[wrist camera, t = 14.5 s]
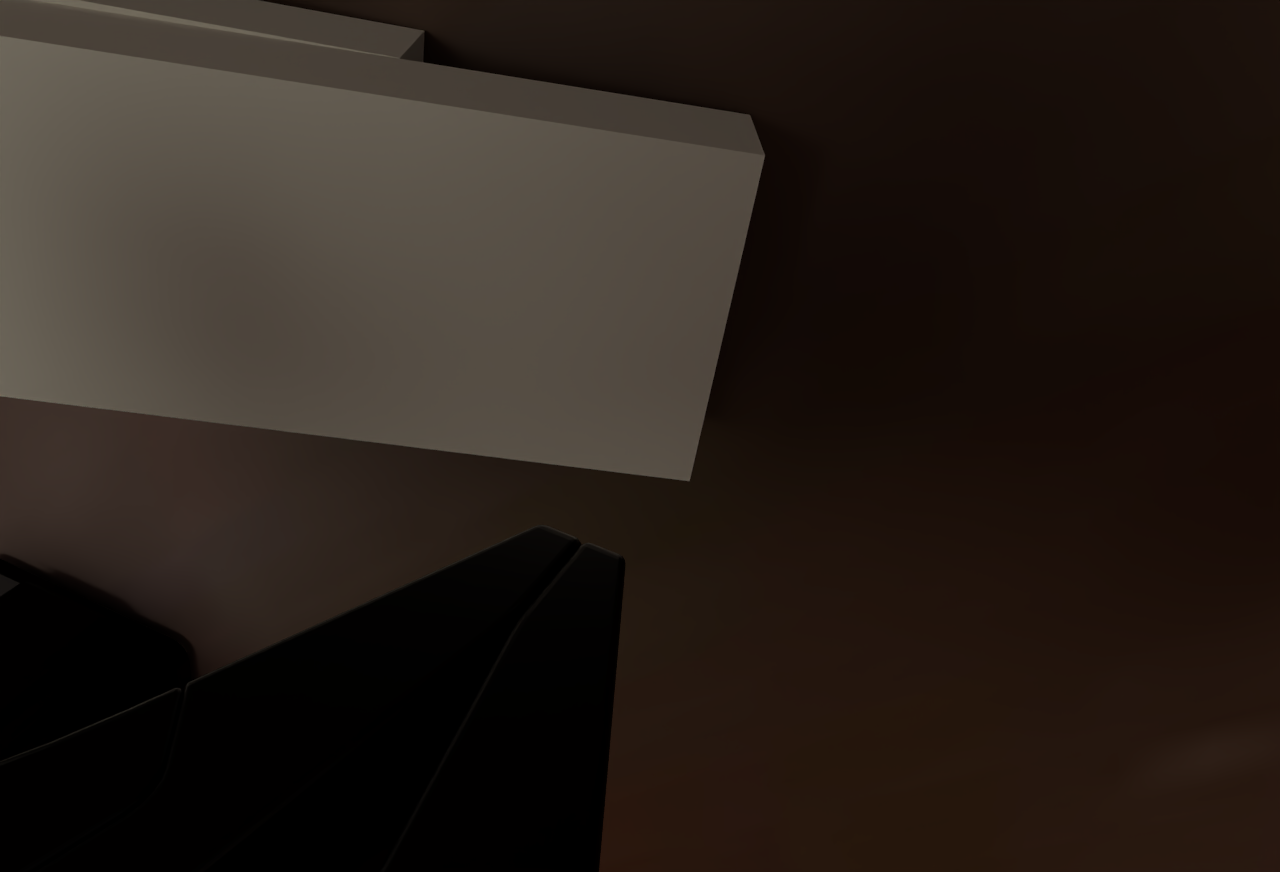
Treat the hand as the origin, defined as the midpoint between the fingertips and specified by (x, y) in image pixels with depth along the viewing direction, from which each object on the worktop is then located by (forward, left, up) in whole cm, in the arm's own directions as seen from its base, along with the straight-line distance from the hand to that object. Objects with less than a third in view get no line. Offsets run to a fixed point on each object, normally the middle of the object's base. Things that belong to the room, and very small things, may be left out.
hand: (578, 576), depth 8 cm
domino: (0, +1, -6) cm, 6 cm away
